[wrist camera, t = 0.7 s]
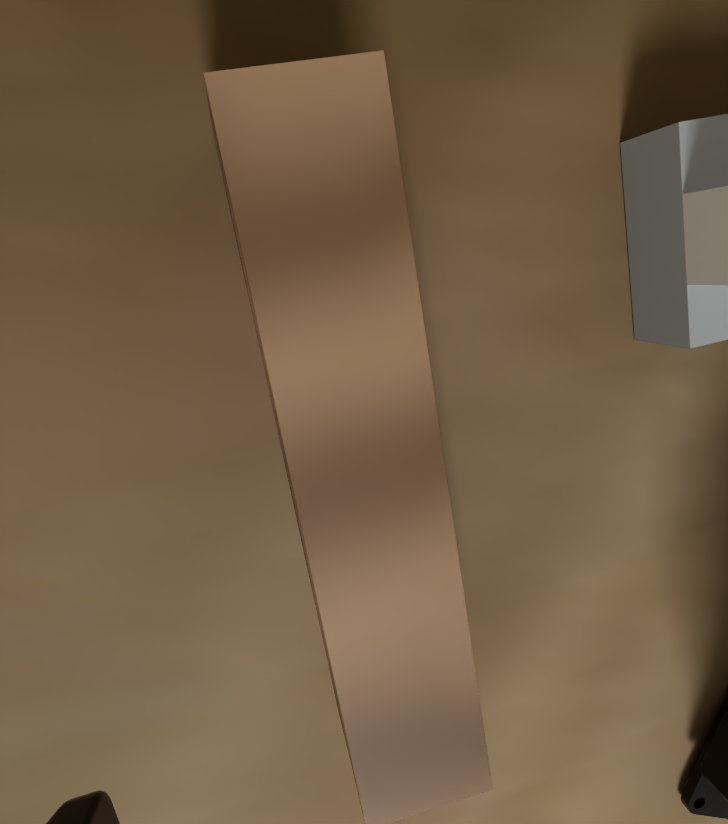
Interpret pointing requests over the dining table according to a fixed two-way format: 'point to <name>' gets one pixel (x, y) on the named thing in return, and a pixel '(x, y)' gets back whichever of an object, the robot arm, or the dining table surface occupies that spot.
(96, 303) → the dining table surface
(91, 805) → the robot arm
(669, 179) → the ridge stand
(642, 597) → the dining table surface
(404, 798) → the walnut bar
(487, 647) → the dining table surface
